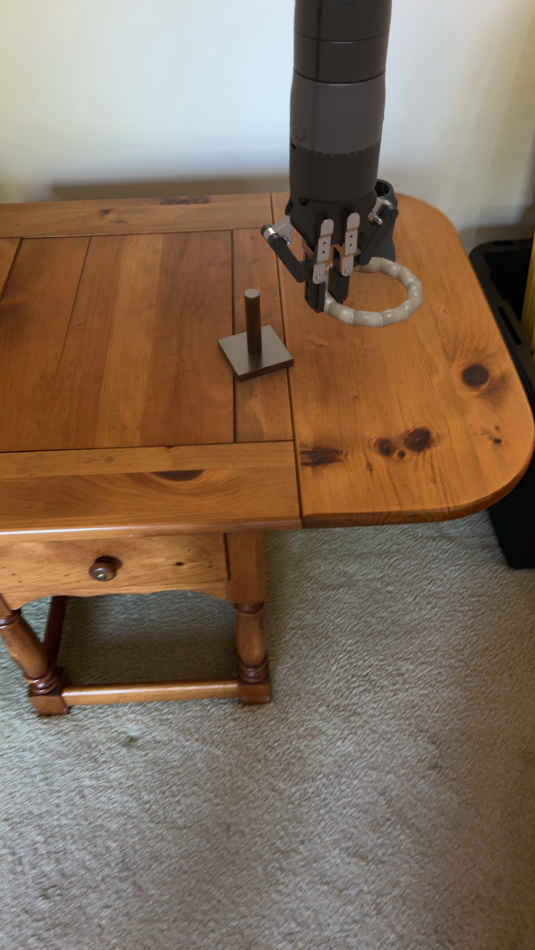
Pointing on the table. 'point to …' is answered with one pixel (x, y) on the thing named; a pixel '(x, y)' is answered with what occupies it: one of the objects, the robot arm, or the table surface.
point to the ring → (385, 316)
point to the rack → (254, 345)
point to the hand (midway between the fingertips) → (325, 305)
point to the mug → (387, 245)
